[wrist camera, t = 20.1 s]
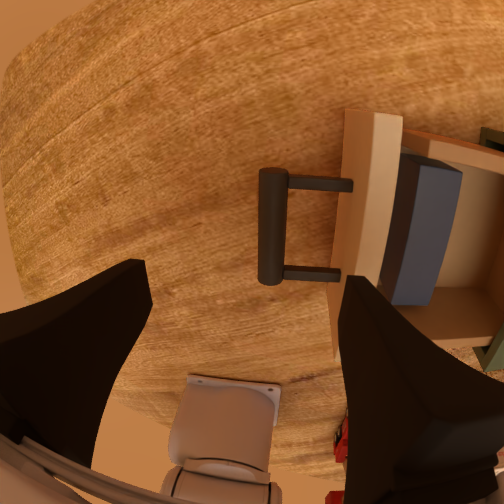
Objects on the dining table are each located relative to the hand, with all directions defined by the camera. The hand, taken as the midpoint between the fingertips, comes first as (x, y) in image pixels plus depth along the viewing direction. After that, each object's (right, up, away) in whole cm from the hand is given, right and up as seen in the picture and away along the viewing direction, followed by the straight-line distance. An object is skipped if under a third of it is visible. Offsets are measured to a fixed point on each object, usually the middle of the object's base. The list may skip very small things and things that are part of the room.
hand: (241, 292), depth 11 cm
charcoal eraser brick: (+10, +3, +6) cm, 12 cm away
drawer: (+10, +4, +7) cm, 13 cm away
